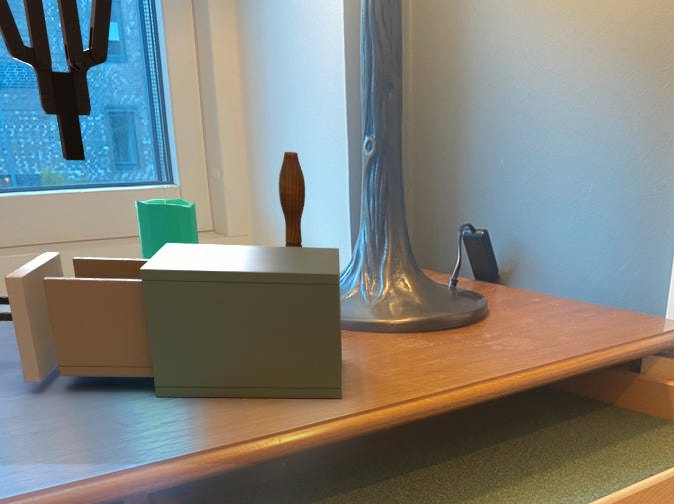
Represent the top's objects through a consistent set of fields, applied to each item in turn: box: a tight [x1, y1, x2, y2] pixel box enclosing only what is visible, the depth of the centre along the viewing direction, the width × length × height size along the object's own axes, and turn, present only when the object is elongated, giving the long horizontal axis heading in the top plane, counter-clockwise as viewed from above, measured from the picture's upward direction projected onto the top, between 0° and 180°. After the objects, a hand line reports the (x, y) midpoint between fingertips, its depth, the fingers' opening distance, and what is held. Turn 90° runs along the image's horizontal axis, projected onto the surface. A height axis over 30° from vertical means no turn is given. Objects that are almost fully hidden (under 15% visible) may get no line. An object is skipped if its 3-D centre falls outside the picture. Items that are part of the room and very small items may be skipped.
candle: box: [134, 184, 200, 259], centre depth 102 cm, size 6×6×12 cm
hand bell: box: [278, 151, 306, 247], centre depth 97 cm, size 8×8×16 cm
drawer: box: [0, 251, 154, 383], centre depth 78 cm, size 18×11×8 cm, turn 97°
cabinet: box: [140, 243, 343, 399], centre depth 80 cm, size 15×13×10 cm
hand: (74, 158), depth 83 cm, fingers closed
